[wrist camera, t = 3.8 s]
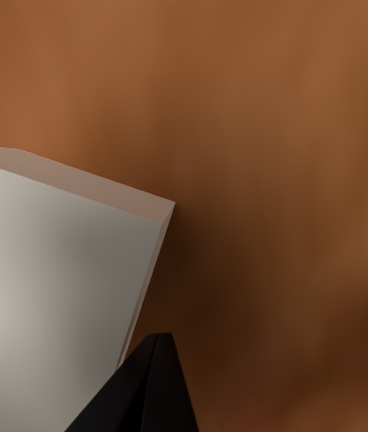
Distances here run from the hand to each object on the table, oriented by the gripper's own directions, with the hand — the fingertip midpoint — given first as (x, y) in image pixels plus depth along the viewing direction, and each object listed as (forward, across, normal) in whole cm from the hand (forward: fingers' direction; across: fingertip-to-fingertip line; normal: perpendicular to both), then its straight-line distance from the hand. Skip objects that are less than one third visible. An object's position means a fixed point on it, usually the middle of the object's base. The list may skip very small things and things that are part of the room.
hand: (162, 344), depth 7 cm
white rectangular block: (+2, +4, 0) cm, 5 cm away
